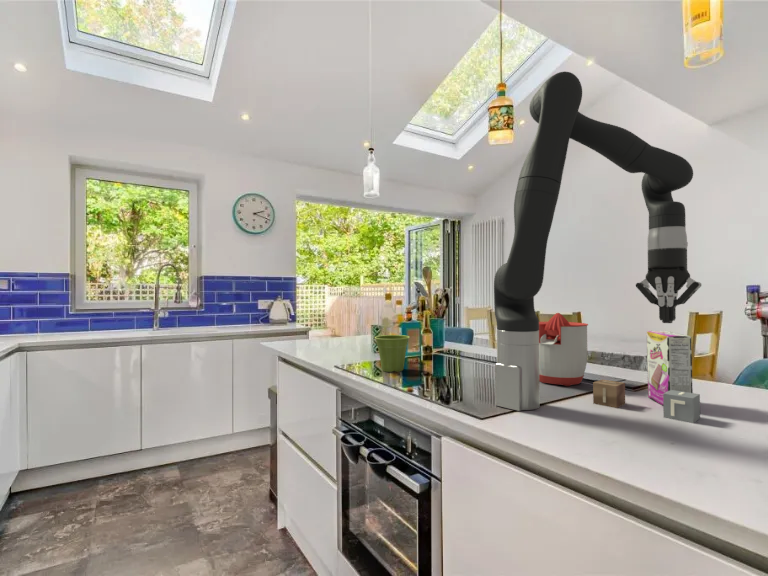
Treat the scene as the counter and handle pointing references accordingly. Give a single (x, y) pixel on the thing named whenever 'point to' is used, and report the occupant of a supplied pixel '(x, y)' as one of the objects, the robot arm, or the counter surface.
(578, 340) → the citrus juicer
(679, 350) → the candy bar box
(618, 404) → the walnut digit cube
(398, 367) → the plant pot
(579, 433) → the counter surface
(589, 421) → the counter surface
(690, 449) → the counter surface
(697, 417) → the slate digit cube
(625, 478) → the counter surface
